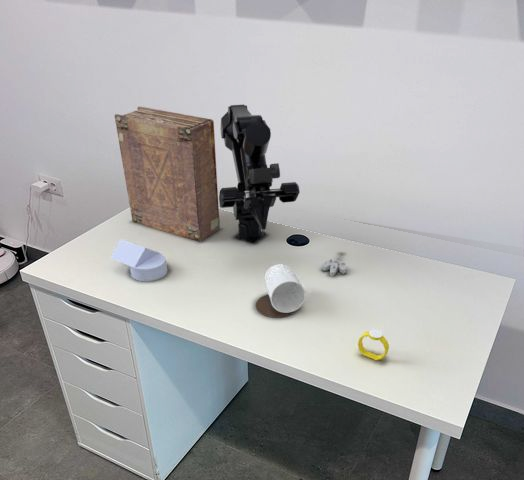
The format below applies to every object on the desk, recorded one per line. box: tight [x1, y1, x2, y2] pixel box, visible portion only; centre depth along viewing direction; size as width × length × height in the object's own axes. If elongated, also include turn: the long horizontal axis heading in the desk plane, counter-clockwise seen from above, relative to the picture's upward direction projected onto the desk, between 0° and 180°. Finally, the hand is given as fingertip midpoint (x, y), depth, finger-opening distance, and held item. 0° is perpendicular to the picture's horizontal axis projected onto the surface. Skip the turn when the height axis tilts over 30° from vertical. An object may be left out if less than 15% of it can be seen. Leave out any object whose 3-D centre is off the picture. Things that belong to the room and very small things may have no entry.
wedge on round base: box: [109, 238, 168, 282], centre depth 134 cm, size 9×7×13 cm
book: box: [114, 106, 221, 242], centre depth 146 cm, size 25×9×30 cm, turn 58°
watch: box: [357, 328, 390, 361], centre depth 106 cm, size 6×3×6 cm, turn 58°
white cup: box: [264, 263, 307, 313], centre depth 121 cm, size 8×8×10 cm
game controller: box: [322, 252, 347, 277], centre depth 136 cm, size 6×12×3 cm, turn 179°
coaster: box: [255, 294, 297, 319], centre depth 122 cm, size 10×10×1 cm
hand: (263, 229), depth 127 cm, fingers closed
